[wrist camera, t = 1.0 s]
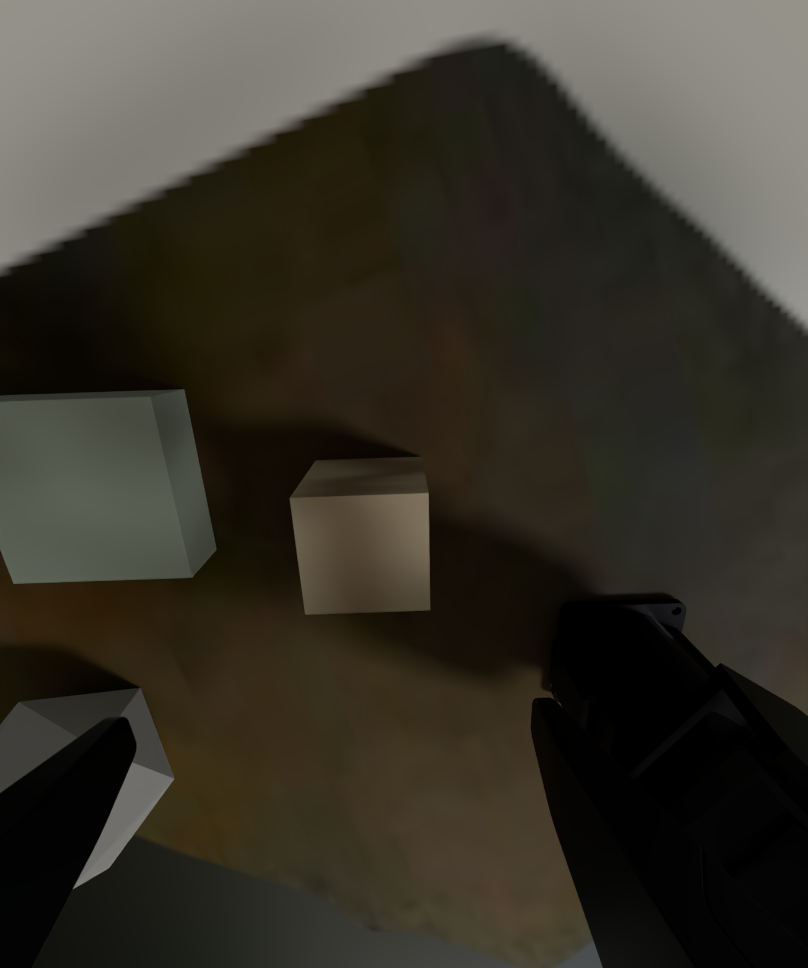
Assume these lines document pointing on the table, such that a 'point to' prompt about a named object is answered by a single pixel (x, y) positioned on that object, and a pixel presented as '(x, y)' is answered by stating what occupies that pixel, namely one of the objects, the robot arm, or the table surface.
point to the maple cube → (363, 536)
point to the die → (61, 720)
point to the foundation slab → (101, 487)
